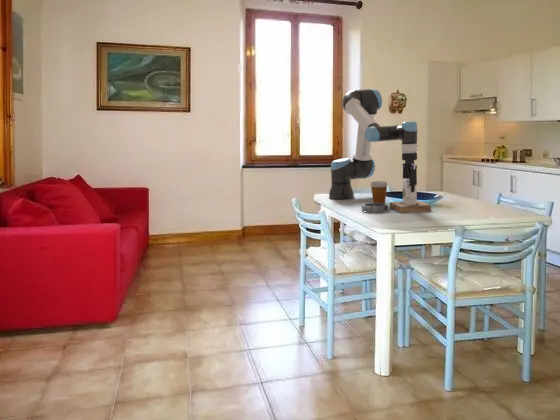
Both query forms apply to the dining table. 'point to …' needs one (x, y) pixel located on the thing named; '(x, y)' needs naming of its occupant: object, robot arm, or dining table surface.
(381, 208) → the metal ring
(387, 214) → the dining table surface
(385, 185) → the disposable coffee cup
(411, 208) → the square socket
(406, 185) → the syrup box
